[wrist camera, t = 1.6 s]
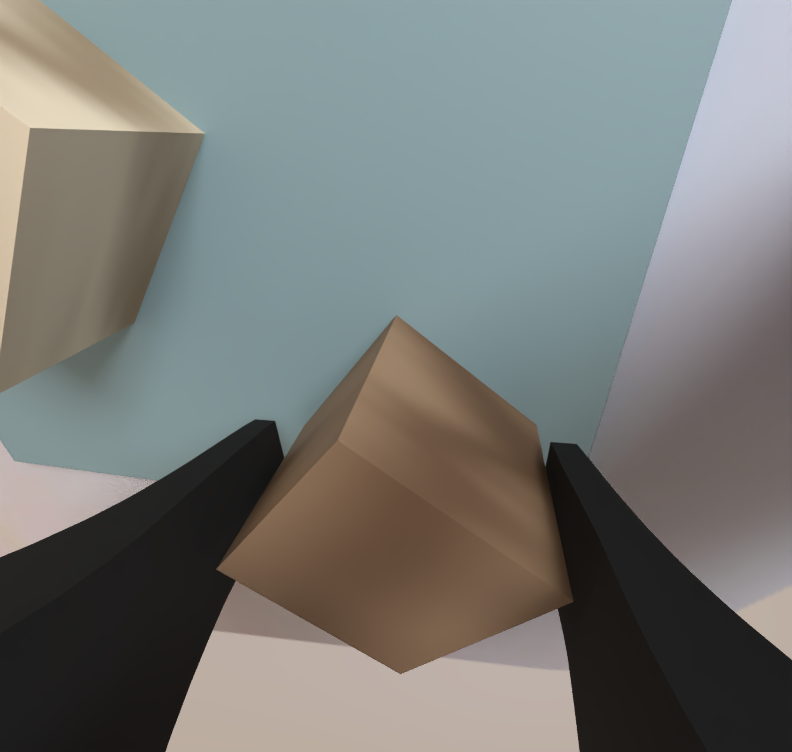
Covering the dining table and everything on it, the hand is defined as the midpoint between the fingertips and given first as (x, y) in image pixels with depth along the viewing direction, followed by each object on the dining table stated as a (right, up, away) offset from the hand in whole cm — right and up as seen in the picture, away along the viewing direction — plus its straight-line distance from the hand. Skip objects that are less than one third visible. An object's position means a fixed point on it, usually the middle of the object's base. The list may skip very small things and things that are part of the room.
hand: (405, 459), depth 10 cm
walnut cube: (0, +1, +1) cm, 2 cm away
